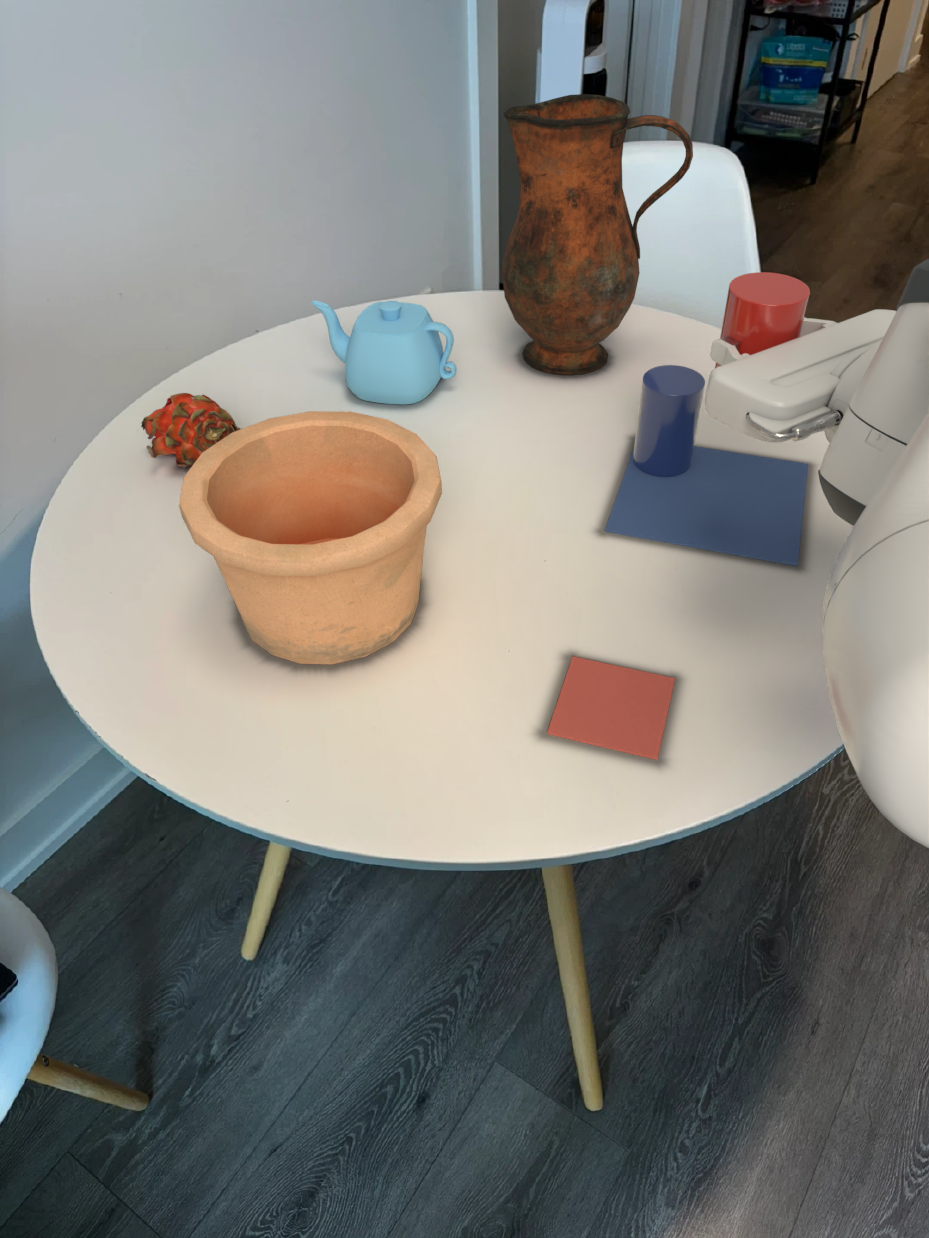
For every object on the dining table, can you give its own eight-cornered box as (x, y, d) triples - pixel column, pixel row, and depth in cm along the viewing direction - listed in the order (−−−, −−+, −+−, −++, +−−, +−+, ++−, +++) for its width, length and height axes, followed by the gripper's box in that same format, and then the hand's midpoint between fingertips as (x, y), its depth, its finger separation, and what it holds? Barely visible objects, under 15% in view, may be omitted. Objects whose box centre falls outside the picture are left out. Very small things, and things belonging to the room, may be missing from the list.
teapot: (327, 276, 116) (466, 287, 113) (337, 354, 123) (468, 367, 120) (291, 320, 107) (441, 334, 104) (304, 402, 114) (444, 417, 111)
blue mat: (807, 466, 102) (808, 463, 102) (796, 567, 90) (797, 564, 90) (636, 440, 107) (637, 437, 106) (604, 532, 94) (604, 529, 94)
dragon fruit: (247, 484, 105) (162, 478, 109) (264, 414, 106) (180, 411, 110) (203, 455, 97) (113, 450, 101) (222, 380, 98) (132, 378, 103)
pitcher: (512, 324, 129) (516, 82, 108) (667, 337, 125) (702, 89, 104) (488, 383, 117) (488, 124, 96) (658, 399, 113) (696, 134, 93)
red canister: (781, 381, 84) (806, 273, 77) (786, 418, 79) (813, 307, 73) (709, 377, 85) (728, 270, 78) (710, 413, 80) (730, 303, 73)
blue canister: (694, 450, 104) (709, 369, 97) (686, 481, 100) (700, 399, 93) (638, 441, 106) (648, 361, 99) (627, 472, 101) (637, 390, 95)
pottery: (175, 592, 89) (135, 467, 79) (366, 506, 99) (352, 385, 89) (285, 728, 76) (255, 599, 67) (493, 614, 86) (493, 487, 76)
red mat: (674, 681, 79) (675, 677, 79) (657, 761, 73) (657, 757, 73) (572, 659, 82) (572, 655, 81) (546, 734, 75) (547, 731, 75)
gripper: (775, 481, 68) (653, 402, 77) (955, 402, 76) (825, 338, 85) (793, 406, 64) (662, 331, 73) (983, 330, 72) (843, 270, 80)
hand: (751, 334), depth 79 cm, fingers closed on red canister, 6 cm apart
